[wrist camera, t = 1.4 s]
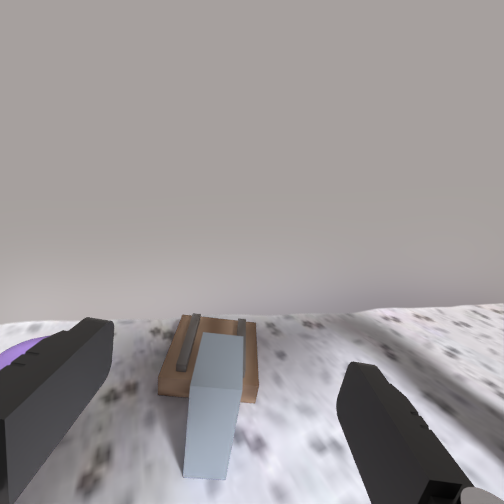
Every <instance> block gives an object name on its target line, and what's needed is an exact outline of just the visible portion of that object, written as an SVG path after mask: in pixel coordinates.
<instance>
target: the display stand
mask: <svg viewBox="0 0 504 504" xmlns="http://www.w3.org/2000/svg"><path fill="white" fill-rule="evenodd" d="M200 316H201V314H193V315H192V316H191V315H182V317H181V320H180V322H179V325H178V328H177V330H176V333H175V335H174V338H173V340H172V343H171V345H170V348H169V350H168V353H167V356H166V358H165V361H164V363H163V366H162V368H161V371H160V373H159V376H158V395H165V396H177V397H188V398H189V394H190V384H191V380H192V376H193V372H194V368H195V363H196V359H197V355H198V351H199V347H200V343H201V339H202V335H203V332H206V333H215V334H225V335H234V336H243V385H242V395H241V400H240V402H245V403H255V401H256V397H257V392H258V388H259V379H258V359H257V339H256V323H254V322H246V319H238V321H236V320H227V319H218V318H209V317H200Z"/></svg>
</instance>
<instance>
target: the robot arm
mask: <svg viewBox="0 0 504 504" xmlns="http://www.w3.org/2000/svg"><path fill="white" fill-rule="evenodd" d="M113 337H114V323H113V322H112V321H108V320H102V319H95V318H89V317H87V318H85V319H83V320H82V321H80V322H79V323H78V324H77V325H75V326H74V327H73V328H72V329H70V330H69V331H64V330H63V331H60V332H58V333H56V334H53V335H51V336H49V337H46V338H44V339H42V340H41V341H39V342H38V343H37V344H35V345H34V346H33V347H31V348H30V349H28V350H27V351H26V353H25V354H22V355H20V356H19V357H17V358H16V359H15V360H13V361H12V362H11V364H10V365H6V366H5V367H4V368H2V369H1V370H0V504H14V502H15V501H16V500H17V498H18V497H19V496H20V494H21V493H22V492H23V490H24V489H25V487H26V486H27V485H28V483H29V482H30V481H31V479H32V478H33V477H34V475H35V474H36V473H37V471H38V470H39V469H40V467H41V466H42V465H43V463H44V462H45V461H46V459H47V458H48V457H49V455H50V454H51V453H52V451H53V450H54V449H55V447H56V446H57V445H58V443H59V442H60V441H61V439H62V438H63V437H64V435H65V434H66V433H67V431H68V430H69V429H70V427H71V426H72V425H73V423H74V422H75V420H76V419H77V418H78V416H79V415H80V414H81V412H82V411H83V410H84V408H85V407H86V406H87V404H88V403H89V402H90V400H91V399H92V398H93V396H94V395H95V394H96V392H97V391H98V390H99V388H100V387H101V386H102V384H103V383H104V381H105V380H106V378H107V376H108V373H109V371H110V367H111V363H112V351H113ZM336 409H337V416H338V419H339V422H340V425H341V427H342V430H343V432H344V435H345V437H346V440H347V442H348V445H349V447H350V450H351V453H352V455H353V458H354V460H355V463H356V465H357V468H358V470H359V473H360V475H361V478H362V481H363V483H364V486H365V488H366V491H367V493H368V496H369V498H370V501H371V504H504V501H503V500H501V499H500V498H498V497H497V496H495V495H493V494H491V493H489V492H487V491H485V490H483V489H480V488H476V487H474V485H473V484H472V483H471V481H470V480H469V479H468V477H467V476H466V475H465V474H464V472H463V471H462V470H461V468H460V467H459V466H458V464H457V463H456V462H455V460H454V459H453V458H452V456H451V455H450V454H449V452H448V451H447V450H446V449H445V447H444V446H443V445H442V443H441V442H440V441H439V439H438V438H437V437H436V435H435V434H434V433H433V431H432V430H429V428H428V425H427V424H426V422H425V421H424V420H423V418H422V417H421V416H419V415H418V412H417V410H416V409H415V408H414V406H413V405H412V404H411V403H410V401H409V400H408V399H407V397H406V396H404V395H403V394H402V393H401V392H400V391H399V390H398V389H396V388H395V387H394V386H393V385H392V384H389V382H388V381H387V380H386V378H385V377H384V375H383V374H382V373H381V371H380V370H379V369H378V367H377V366H375V365H371V364H365V363H359V362H351V363H350V364H349V365H348V368H347V371H346V373H345V376H344V379H343V382H342V385H341V388H340V391H339V394H338V397H337V403H336Z"/></svg>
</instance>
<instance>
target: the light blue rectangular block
mask: <svg viewBox="0 0 504 504" xmlns="http://www.w3.org/2000/svg"><path fill="white" fill-rule="evenodd" d="M242 385H243V336H234V335H225V334H215V333H206V332H203V335H202V339H201V343H200V347H199V351H198V355H197V359H196V363H195V368H194V372H193V376H192V380H191V384H190V394H189V406H188V419H187V432H186V445H185V458H184V470H183V477H184V478H200V479H215V480H226V475H227V469H228V464H229V459H230V453H231V448H232V443H233V438H234V432H235V427H236V422H237V416H238V411H239V406H240V400H241V395H242Z"/></svg>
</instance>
